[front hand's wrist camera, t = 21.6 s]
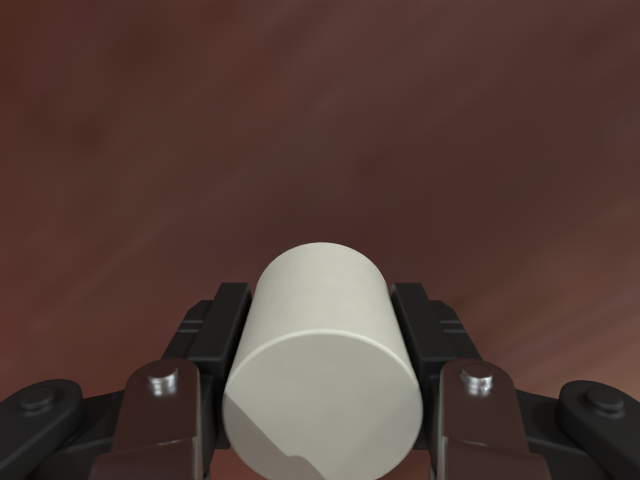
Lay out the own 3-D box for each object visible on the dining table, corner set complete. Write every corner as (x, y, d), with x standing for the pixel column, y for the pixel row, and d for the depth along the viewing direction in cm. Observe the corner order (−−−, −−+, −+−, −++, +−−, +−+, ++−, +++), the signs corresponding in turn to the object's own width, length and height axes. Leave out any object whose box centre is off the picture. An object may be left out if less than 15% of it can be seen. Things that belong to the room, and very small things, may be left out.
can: (230, 273, 12) (182, 376, 8) (358, 219, 12) (379, 298, 7) (289, 378, 13) (275, 516, 9) (408, 334, 13) (451, 458, 9)
